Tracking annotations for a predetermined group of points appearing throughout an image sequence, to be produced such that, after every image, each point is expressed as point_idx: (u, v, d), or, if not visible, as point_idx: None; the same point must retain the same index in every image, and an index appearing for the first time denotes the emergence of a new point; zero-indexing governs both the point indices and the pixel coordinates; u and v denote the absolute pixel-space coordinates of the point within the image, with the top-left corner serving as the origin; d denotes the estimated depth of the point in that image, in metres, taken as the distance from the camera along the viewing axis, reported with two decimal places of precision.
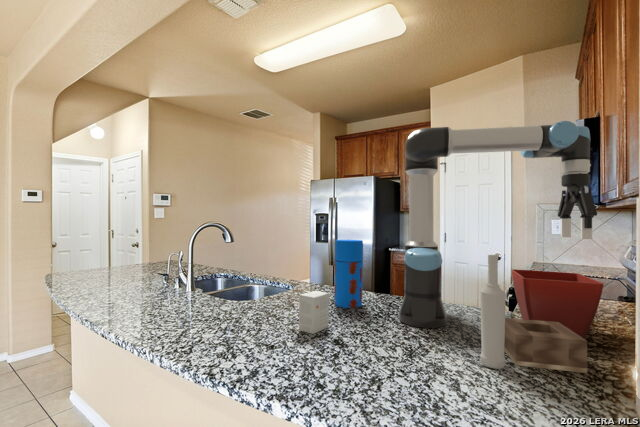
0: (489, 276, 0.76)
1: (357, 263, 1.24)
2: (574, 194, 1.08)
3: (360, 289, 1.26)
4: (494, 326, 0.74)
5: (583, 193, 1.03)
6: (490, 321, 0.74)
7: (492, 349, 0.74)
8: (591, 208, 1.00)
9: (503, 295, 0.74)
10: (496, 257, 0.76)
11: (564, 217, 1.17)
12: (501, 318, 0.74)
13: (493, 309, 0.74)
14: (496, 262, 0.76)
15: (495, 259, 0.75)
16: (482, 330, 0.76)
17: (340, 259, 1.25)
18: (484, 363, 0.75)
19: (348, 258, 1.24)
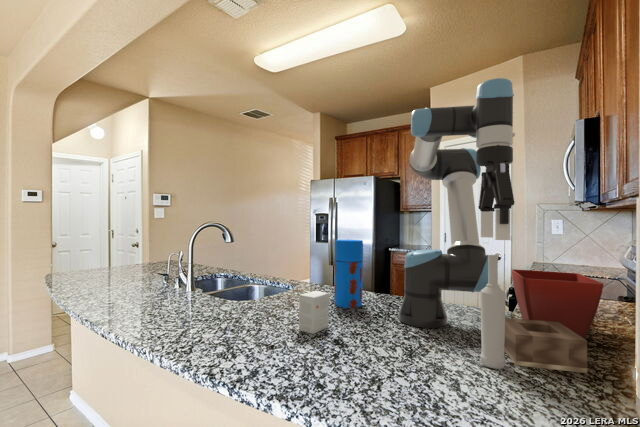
0: (489, 276, 0.76)
1: (357, 263, 1.24)
2: (490, 175, 0.75)
3: (360, 289, 1.26)
4: (494, 326, 0.74)
5: (498, 173, 0.70)
6: (490, 321, 0.74)
7: (492, 349, 0.74)
8: (507, 194, 0.68)
9: (503, 295, 0.74)
10: (496, 257, 0.76)
11: (485, 210, 0.84)
12: (501, 318, 0.74)
13: (493, 309, 0.74)
14: (496, 262, 0.76)
15: (495, 259, 0.75)
16: (482, 330, 0.76)
17: (340, 259, 1.25)
18: (484, 363, 0.75)
19: (348, 258, 1.24)
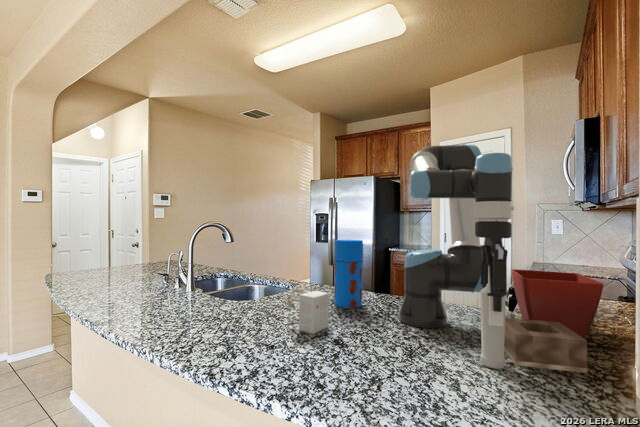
0: (489, 276, 0.76)
1: (357, 263, 1.24)
2: (488, 253, 0.75)
3: (360, 289, 1.26)
4: (494, 326, 0.74)
5: (495, 260, 0.71)
6: None
7: (492, 349, 0.74)
8: (500, 285, 0.70)
9: None
10: None
11: None
12: None
13: None
14: None
15: None
16: (482, 330, 0.76)
17: (340, 259, 1.25)
18: (484, 363, 0.75)
19: (348, 258, 1.24)
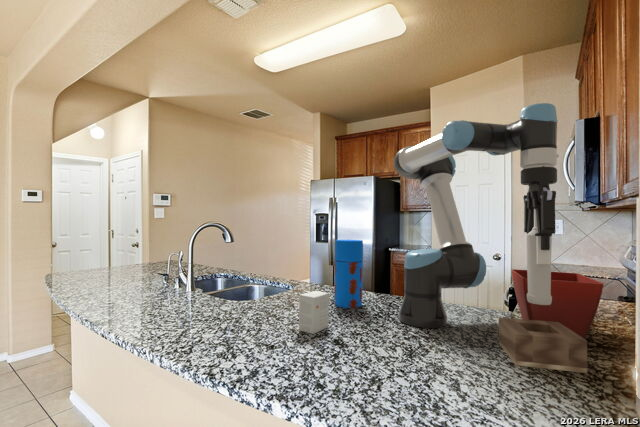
0: (535, 220, 0.81)
1: (357, 263, 1.24)
2: (535, 197, 0.80)
3: (360, 289, 1.26)
4: (542, 265, 0.79)
5: (544, 201, 0.76)
6: None
7: (540, 287, 0.79)
8: (549, 224, 0.75)
9: (550, 236, 0.79)
10: None
11: None
12: None
13: None
14: None
15: None
16: (529, 270, 0.81)
17: (340, 259, 1.25)
18: (531, 301, 0.80)
19: (348, 258, 1.24)
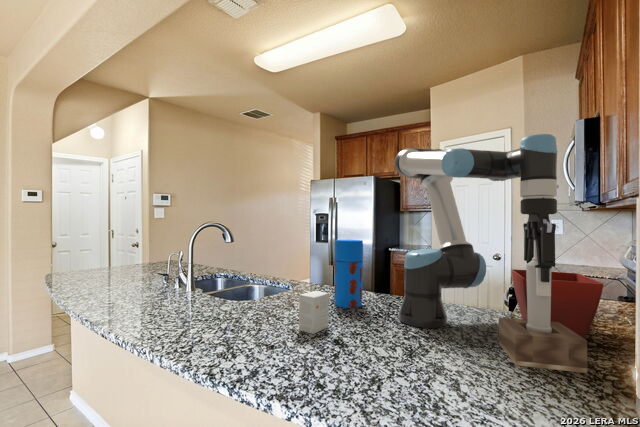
0: (535, 250, 0.81)
1: (357, 263, 1.24)
2: (535, 228, 0.80)
3: (360, 289, 1.26)
4: (541, 297, 0.79)
5: (544, 233, 0.76)
6: None
7: (540, 319, 0.79)
8: (549, 257, 0.75)
9: None
10: None
11: None
12: None
13: None
14: None
15: None
16: (529, 301, 0.81)
17: (340, 259, 1.25)
18: None
19: (348, 258, 1.24)
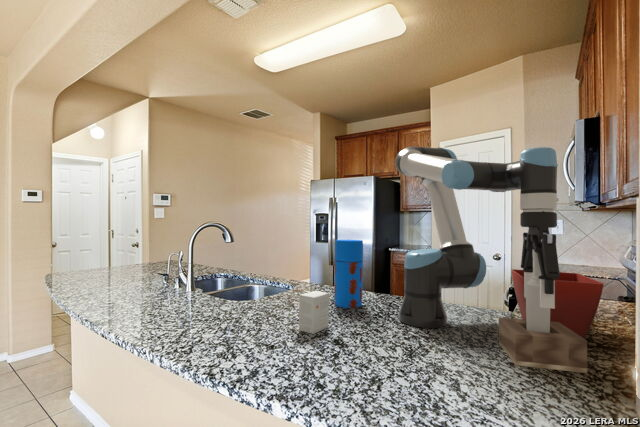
0: (534, 269, 0.81)
1: (357, 263, 1.24)
2: (535, 240, 0.79)
3: (360, 289, 1.26)
4: (541, 316, 0.79)
5: (545, 244, 0.75)
6: (536, 311, 0.79)
7: None
8: (553, 268, 0.73)
9: None
10: None
11: (528, 270, 0.87)
12: (547, 309, 0.79)
13: None
14: None
15: None
16: (528, 320, 0.81)
17: (340, 259, 1.25)
18: None
19: (348, 258, 1.24)
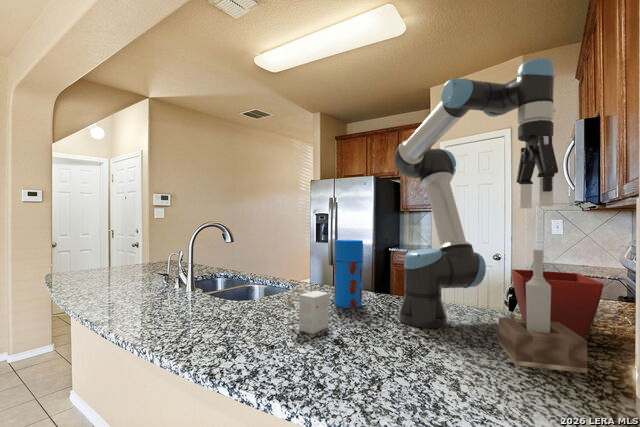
0: (535, 269, 0.81)
1: (357, 263, 1.24)
2: (532, 148, 0.81)
3: (360, 289, 1.26)
4: (541, 316, 0.79)
5: (541, 145, 0.77)
6: (537, 312, 0.79)
7: None
8: (551, 163, 0.74)
9: (549, 287, 0.79)
10: (542, 251, 0.80)
11: (524, 182, 0.90)
12: (547, 309, 0.79)
13: (540, 300, 0.79)
14: (542, 256, 0.80)
15: (541, 253, 0.80)
16: (528, 320, 0.81)
17: (340, 259, 1.25)
18: None
19: (348, 258, 1.24)
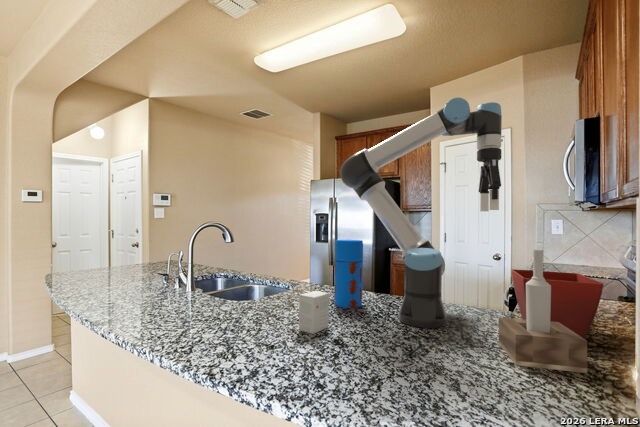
0: (535, 269, 0.81)
1: (357, 263, 1.24)
2: (486, 168, 1.12)
3: (360, 289, 1.26)
4: (541, 316, 0.79)
5: (491, 166, 1.07)
6: (537, 312, 0.79)
7: None
8: (496, 179, 1.05)
9: (549, 287, 0.79)
10: (541, 251, 0.80)
11: (483, 192, 1.21)
12: (547, 309, 0.79)
13: (540, 300, 0.79)
14: (542, 256, 0.80)
15: (541, 253, 0.80)
16: (528, 320, 0.81)
17: (340, 259, 1.25)
18: None
19: (348, 258, 1.24)
